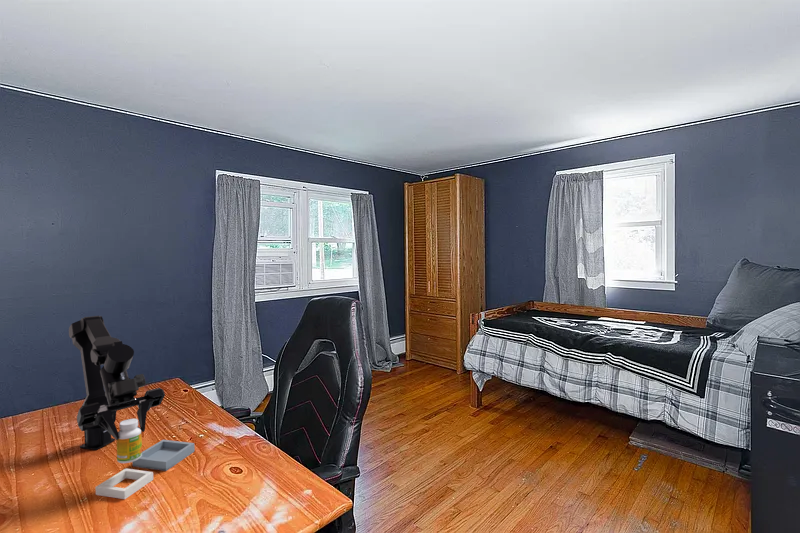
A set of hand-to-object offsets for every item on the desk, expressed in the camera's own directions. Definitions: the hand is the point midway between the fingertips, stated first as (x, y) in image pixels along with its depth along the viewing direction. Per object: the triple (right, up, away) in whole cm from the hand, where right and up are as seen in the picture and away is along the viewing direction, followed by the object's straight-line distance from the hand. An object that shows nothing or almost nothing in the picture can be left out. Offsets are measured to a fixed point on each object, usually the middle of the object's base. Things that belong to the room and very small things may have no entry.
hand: (131, 435), depth 104 cm
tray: (+1, -13, +14) cm, 19 cm away
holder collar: (-1, -13, 0) cm, 13 cm away
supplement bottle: (-1, -7, +1) cm, 7 cm away
